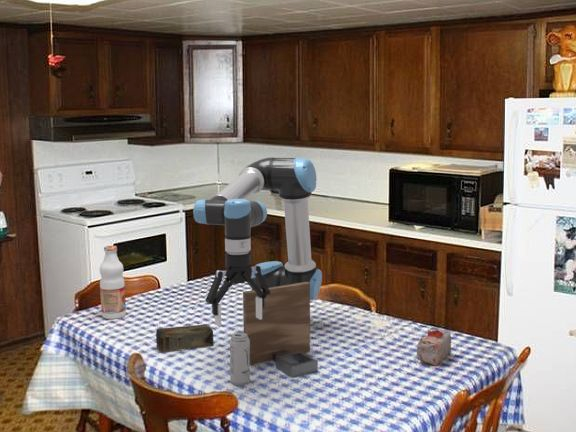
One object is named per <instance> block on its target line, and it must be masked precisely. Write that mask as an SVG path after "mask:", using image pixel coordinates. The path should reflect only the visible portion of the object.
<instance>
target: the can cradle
mask: <svg viewBox="0 0 576 432" xmlns="http://www.w3.org/2000/svg"><path fill="white" fill-rule="evenodd" d="M272 361H274V362H275V368H276V369H278V370H279V371H281V372H283V373H284V374H285V375H287V376H288V377H290V378H295V377H299V376H304V375H307V374H312V373H316V372H318V370H319V367H318V362H319V361H318V360H317V359H316V358H314V357H312V356H310V355H309V354H307V353H304V352H302V351H301V352H296V353H290V352H289V351H287V350H283V351H278V352H273V360H272Z"/></svg>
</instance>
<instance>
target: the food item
mask: <svg viewBox="0 0 576 432" xmlns="http://www.w3.org/2000/svg"><path fill="white" fill-rule="evenodd" d="M424 336H425V335H424ZM424 336H422V337H421V338H419V341H418V342H417V345H416V358H417V361H419V362H422V363H425V364H427V365H431V366H435V367H436V366H438V364H440V363H441V362H442V361H443V360H444V359H446V358H447V357H448V356H449V355H450V354H451V352H452V333H450V332H449V331H446V330H443V329H434V330H430V329H427V335H426V336H425V337H424Z"/></svg>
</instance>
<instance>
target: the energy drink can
mask: <svg viewBox="0 0 576 432" xmlns="http://www.w3.org/2000/svg"><path fill="white" fill-rule="evenodd" d="M230 336H231V337H230V339H229V371H230V374H229V377H230V382H231V383H232V384H233V386H237V387H238V386H239V387H242V386H246V385H248V384H249V382H250V381H251V365H250V340H249V338H248V335H247V334H246V333H244V332H234V333H232V334H231V335H230Z"/></svg>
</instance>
